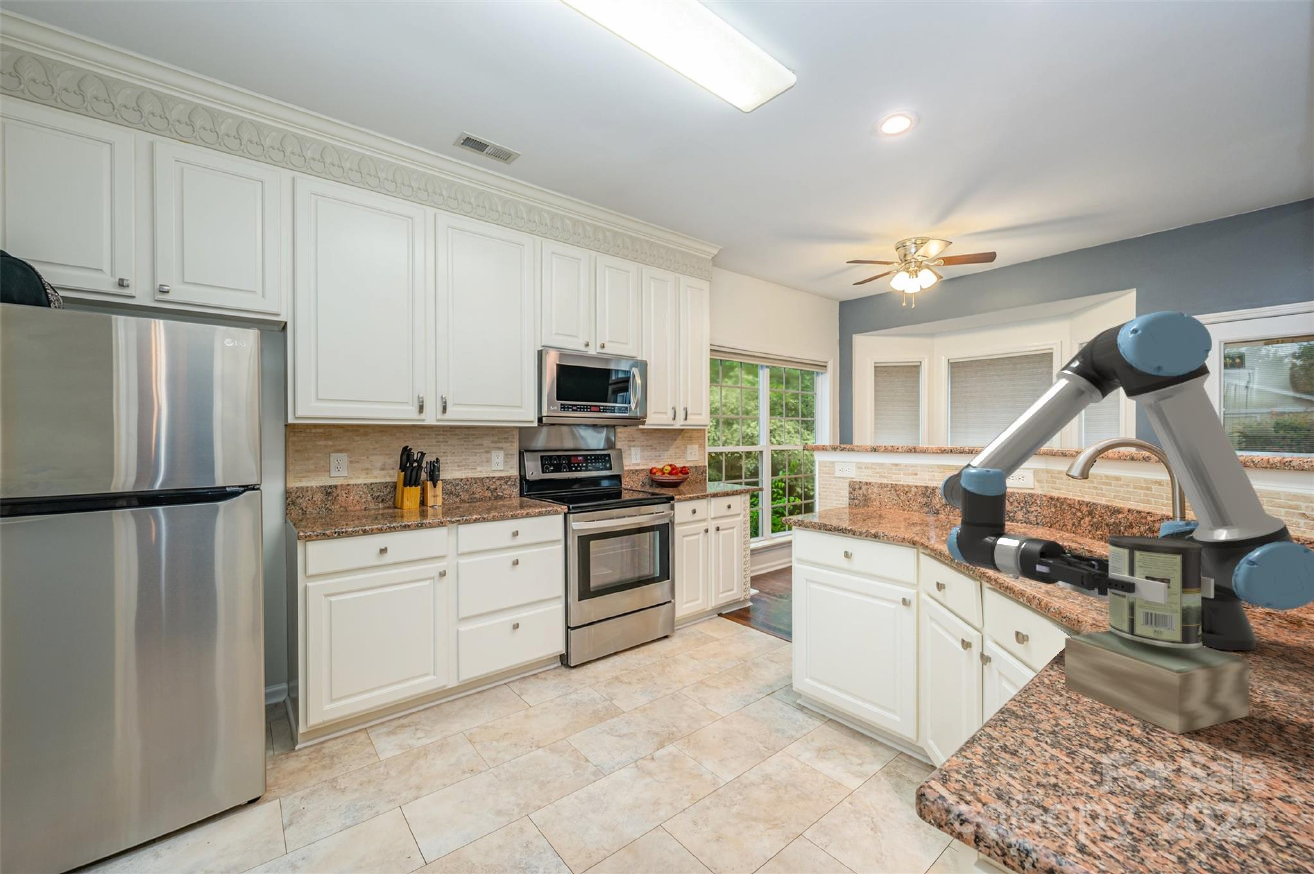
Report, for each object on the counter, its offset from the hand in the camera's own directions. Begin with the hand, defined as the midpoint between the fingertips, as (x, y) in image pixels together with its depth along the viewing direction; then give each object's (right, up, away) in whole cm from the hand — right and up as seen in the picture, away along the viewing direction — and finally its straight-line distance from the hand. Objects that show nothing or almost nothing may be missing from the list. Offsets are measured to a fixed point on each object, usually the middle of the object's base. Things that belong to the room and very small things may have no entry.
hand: (1189, 591), depth 75 cm
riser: (-2, -17, +4) cm, 18 cm away
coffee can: (-2, -8, +4) cm, 9 cm away
